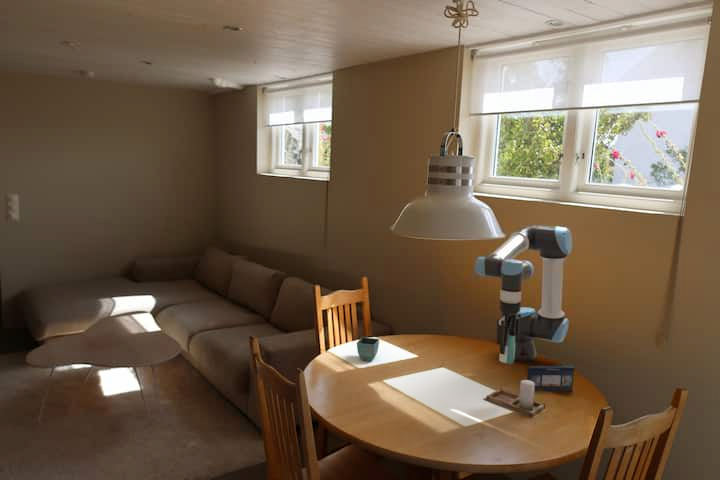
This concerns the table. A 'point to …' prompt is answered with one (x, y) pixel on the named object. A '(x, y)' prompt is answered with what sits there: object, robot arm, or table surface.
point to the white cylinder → (526, 394)
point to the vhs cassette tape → (551, 377)
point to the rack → (514, 403)
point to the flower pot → (367, 348)
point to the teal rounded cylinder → (510, 349)
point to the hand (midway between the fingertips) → (506, 359)
